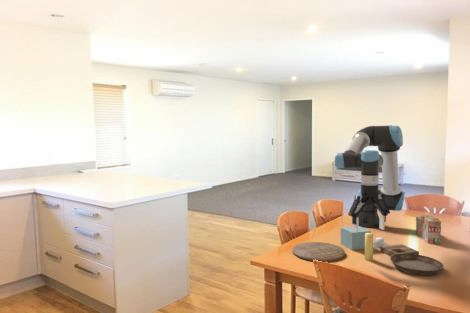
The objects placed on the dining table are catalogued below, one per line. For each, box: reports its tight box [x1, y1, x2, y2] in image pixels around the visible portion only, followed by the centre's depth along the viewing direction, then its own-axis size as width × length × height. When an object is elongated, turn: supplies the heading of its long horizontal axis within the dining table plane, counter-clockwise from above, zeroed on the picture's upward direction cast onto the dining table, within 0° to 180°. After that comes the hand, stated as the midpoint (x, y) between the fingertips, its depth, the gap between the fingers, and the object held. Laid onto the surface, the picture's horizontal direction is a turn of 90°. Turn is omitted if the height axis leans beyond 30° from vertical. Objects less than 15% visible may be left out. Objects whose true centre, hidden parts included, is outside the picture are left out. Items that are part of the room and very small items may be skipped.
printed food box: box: [415, 214, 442, 245], centre depth 203 cm, size 21×6×12 cm, turn 169°
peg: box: [364, 232, 374, 262], centre depth 171 cm, size 4×4×12 cm
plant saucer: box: [389, 254, 444, 276], centre depth 160 cm, size 21×21×3 cm
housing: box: [340, 225, 372, 251], centre depth 191 cm, size 11×11×9 cm
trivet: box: [292, 241, 346, 263], centre depth 181 cm, size 25×25×2 cm
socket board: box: [379, 243, 420, 257], centre depth 178 cm, size 12×12×2 cm
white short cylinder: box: [373, 237, 390, 249], centre depth 191 cm, size 8×8×4 cm
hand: (369, 230), depth 170 cm, fingers open, 13 cm apart
